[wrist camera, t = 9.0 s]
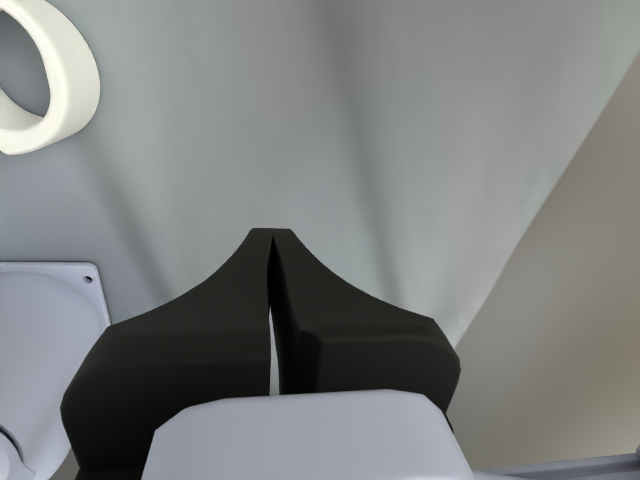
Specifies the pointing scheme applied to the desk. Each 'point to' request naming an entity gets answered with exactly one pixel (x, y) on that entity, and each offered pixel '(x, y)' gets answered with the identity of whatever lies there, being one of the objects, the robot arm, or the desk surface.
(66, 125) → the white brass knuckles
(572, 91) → the desk surface
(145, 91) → the desk surface
